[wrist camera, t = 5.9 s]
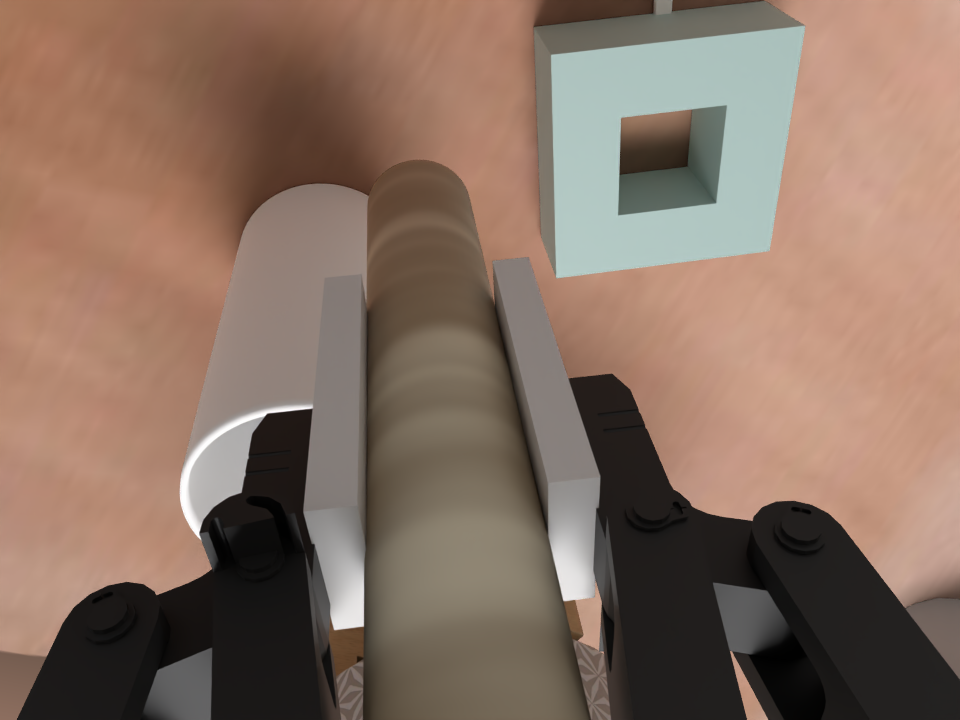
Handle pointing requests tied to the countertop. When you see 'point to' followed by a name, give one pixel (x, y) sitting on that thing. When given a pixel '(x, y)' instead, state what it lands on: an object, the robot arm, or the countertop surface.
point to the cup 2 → (941, 627)
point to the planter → (350, 669)
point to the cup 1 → (269, 331)
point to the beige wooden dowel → (450, 482)
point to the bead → (657, 89)
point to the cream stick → (662, 7)
